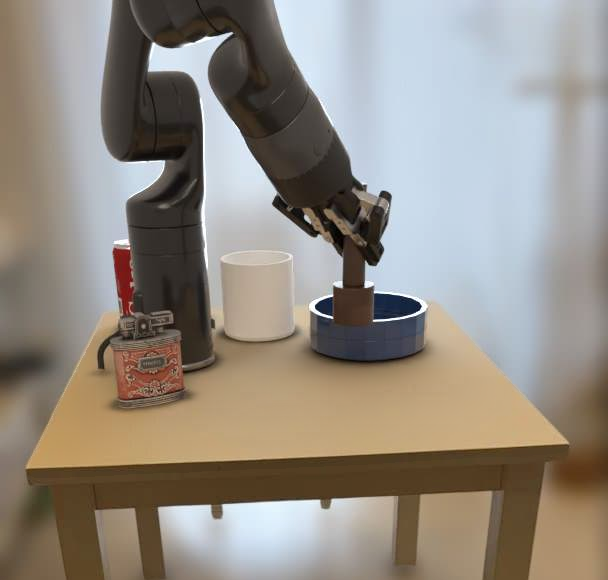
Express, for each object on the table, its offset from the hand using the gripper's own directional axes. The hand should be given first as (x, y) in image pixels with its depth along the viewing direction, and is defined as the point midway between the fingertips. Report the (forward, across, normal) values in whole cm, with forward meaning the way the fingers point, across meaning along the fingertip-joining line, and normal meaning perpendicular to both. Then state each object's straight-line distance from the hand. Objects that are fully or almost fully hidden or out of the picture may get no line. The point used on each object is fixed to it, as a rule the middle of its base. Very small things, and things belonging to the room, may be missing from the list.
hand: (364, 256), depth 95 cm
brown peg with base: (+3, 0, +6) cm, 7 cm away
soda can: (+17, +44, +6) cm, 47 cm away
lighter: (+1, +20, +21) cm, 29 cm away
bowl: (+23, +10, -1) cm, 25 cm away
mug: (+22, +28, +1) cm, 36 cm away
